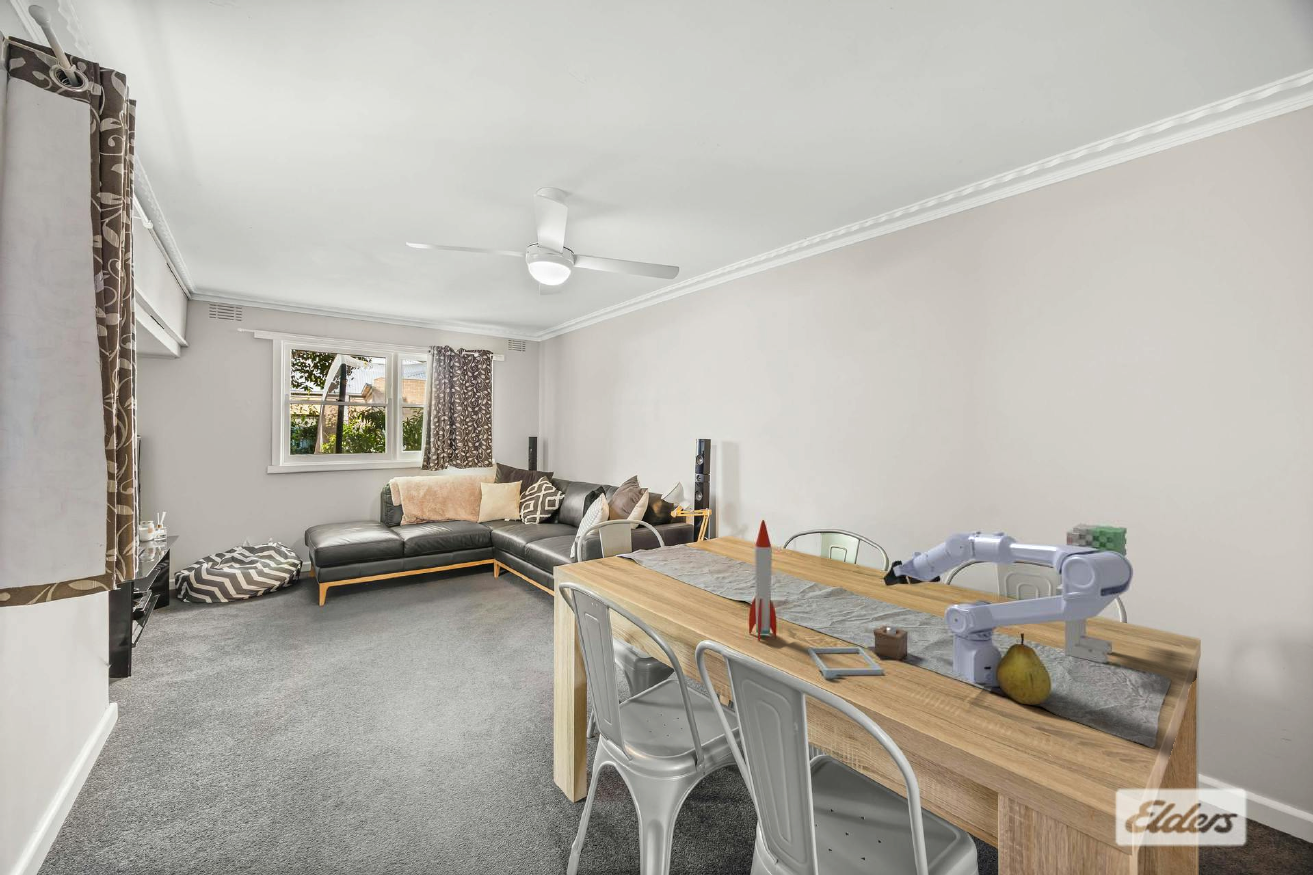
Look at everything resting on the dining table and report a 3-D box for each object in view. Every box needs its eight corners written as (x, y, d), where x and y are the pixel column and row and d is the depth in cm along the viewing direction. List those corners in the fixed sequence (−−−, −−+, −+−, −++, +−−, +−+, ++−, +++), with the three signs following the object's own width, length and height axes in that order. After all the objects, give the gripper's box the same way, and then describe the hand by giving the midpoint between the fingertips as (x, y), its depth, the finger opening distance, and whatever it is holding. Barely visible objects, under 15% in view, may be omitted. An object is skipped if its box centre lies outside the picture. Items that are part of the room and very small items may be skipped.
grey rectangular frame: (882, 678, 116) (882, 669, 116) (825, 679, 116) (825, 669, 116) (859, 655, 128) (859, 647, 128) (808, 656, 128) (808, 647, 128)
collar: (898, 659, 124) (898, 637, 124) (870, 651, 128) (870, 630, 128) (907, 652, 128) (907, 631, 128) (879, 645, 132) (879, 624, 132)
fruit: (1032, 713, 102) (1032, 649, 102) (986, 692, 110) (986, 632, 110) (1062, 704, 105) (1062, 642, 105) (1015, 684, 113) (1015, 627, 113)
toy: (1114, 681, 115) (1115, 538, 115) (1055, 666, 122) (1056, 532, 122) (1130, 643, 136) (1131, 522, 136) (1079, 632, 143) (1080, 518, 143)
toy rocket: (758, 641, 137) (758, 522, 137) (748, 633, 143) (748, 518, 142) (778, 638, 139) (778, 521, 139) (767, 631, 144) (767, 517, 144)
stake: (916, 664, 124) (916, 634, 124) (881, 664, 123) (881, 634, 123) (900, 650, 132) (900, 622, 132) (867, 650, 131) (867, 622, 131)
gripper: (953, 544, 130) (914, 564, 141) (905, 545, 125) (869, 566, 136) (966, 572, 127) (925, 591, 137) (918, 575, 122) (879, 594, 132)
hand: (898, 581), depth 136 cm, fingers open, 7 cm apart
